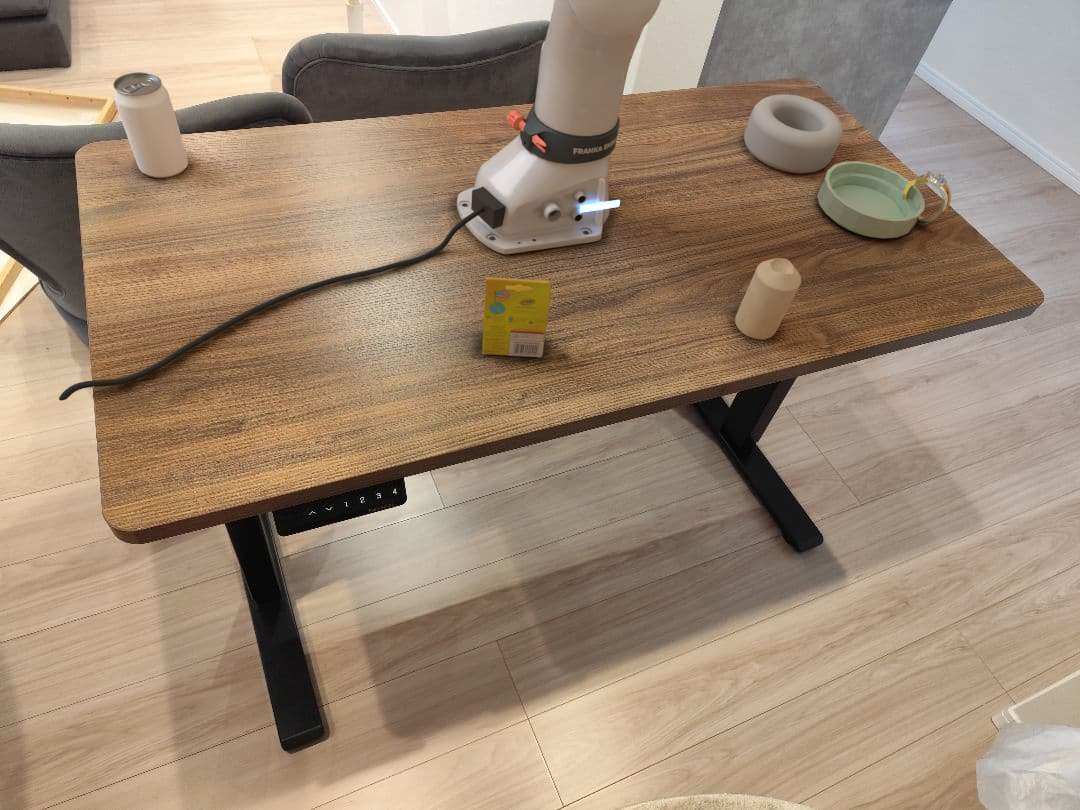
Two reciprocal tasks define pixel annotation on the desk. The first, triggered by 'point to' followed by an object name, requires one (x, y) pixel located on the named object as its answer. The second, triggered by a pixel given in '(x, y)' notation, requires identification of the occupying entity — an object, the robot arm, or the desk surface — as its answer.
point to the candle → (767, 298)
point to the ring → (939, 183)
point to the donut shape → (793, 133)
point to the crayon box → (515, 316)
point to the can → (150, 124)
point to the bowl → (869, 200)
